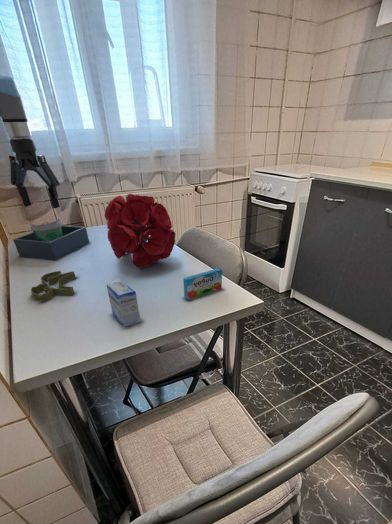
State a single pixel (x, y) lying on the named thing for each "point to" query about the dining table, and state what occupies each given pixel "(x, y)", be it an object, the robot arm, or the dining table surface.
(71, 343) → the dining table surface
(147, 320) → the dining table surface
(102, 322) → the dining table surface
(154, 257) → the bouquet
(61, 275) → the cookie cutter
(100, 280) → the dining table surface
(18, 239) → the tote
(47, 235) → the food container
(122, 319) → the medicine box
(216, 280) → the light blue food packet
